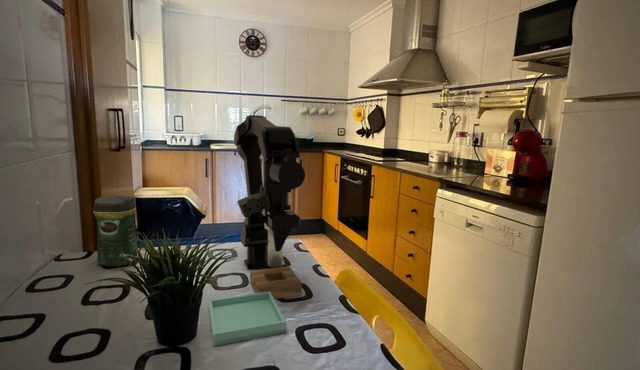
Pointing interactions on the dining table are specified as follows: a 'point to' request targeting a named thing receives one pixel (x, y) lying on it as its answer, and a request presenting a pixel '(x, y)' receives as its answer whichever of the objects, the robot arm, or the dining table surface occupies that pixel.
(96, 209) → the coffee jar
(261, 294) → the tray
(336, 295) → the dining table surface
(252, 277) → the block
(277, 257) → the steel pin
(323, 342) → the dining table surface
